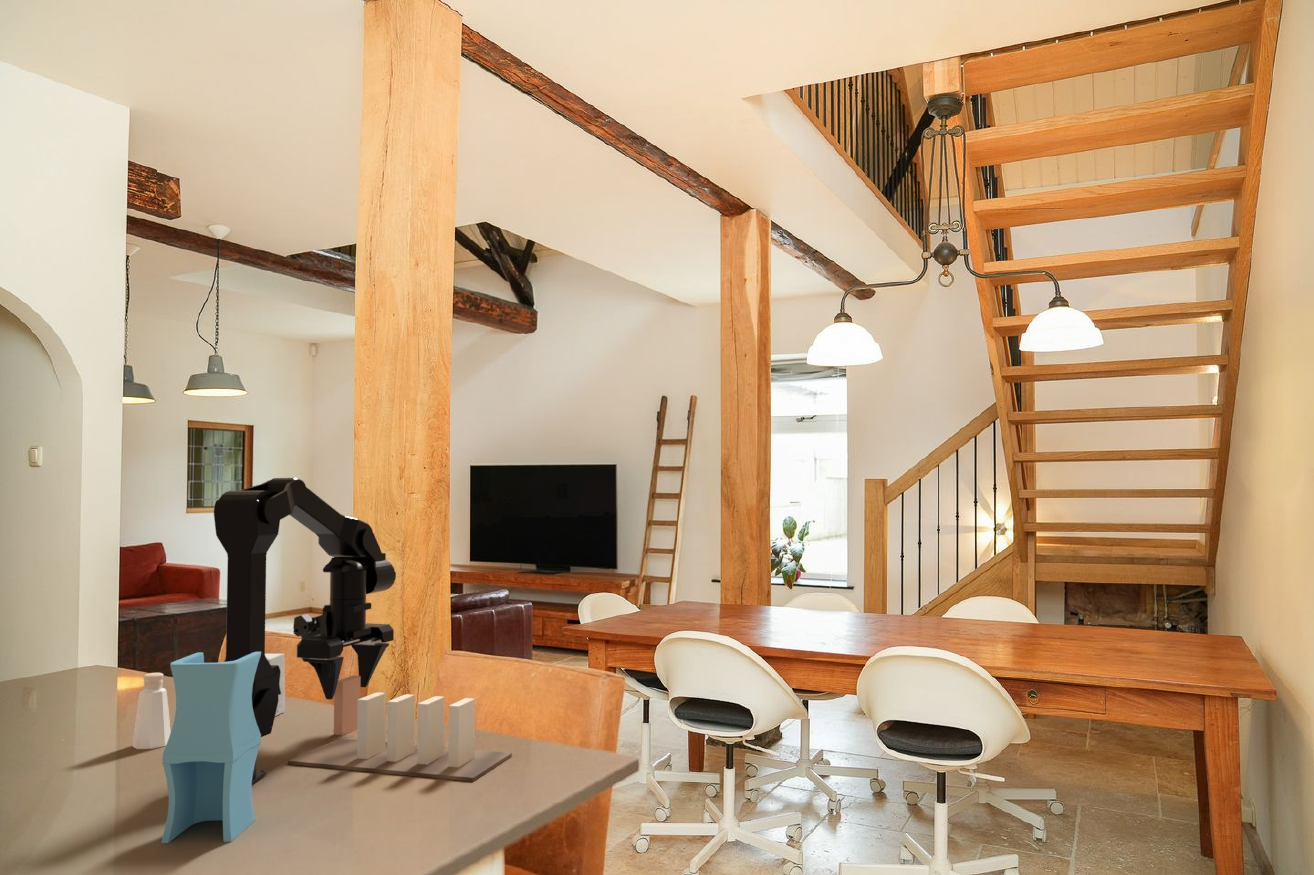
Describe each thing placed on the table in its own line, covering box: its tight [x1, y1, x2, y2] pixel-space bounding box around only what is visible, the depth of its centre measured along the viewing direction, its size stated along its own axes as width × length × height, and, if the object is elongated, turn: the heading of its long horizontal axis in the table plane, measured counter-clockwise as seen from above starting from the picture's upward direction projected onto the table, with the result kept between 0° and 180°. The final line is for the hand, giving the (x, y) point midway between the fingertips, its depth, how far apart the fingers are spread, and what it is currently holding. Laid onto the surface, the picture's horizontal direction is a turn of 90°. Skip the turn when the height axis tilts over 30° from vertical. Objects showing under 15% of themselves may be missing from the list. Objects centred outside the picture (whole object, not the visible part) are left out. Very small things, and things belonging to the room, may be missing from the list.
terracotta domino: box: [333, 675, 361, 736], centre depth 150 cm, size 2×5×8 cm, turn 164°
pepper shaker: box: [131, 672, 172, 750], centre depth 142 cm, size 5×5×11 cm
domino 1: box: [356, 691, 387, 759], centre depth 135 cm, size 2×5×8 cm, turn 164°
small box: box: [265, 653, 286, 717], centre depth 160 cm, size 8×6×10 cm
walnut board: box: [287, 737, 513, 782], centre depth 133 cm, size 30×12×1 cm, turn 73°
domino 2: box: [386, 693, 416, 762], centre depth 133 cm, size 2×5×8 cm, turn 164°
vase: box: [160, 652, 262, 844], centre depth 107 cm, size 8×8×20 cm
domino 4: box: [448, 697, 476, 767], centre depth 130 cm, size 2×5×8 cm, turn 163°
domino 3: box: [417, 695, 446, 765], centre depth 132 cm, size 2×5×8 cm, turn 163°
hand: (346, 692), depth 150 cm, fingers open, 9 cm apart
